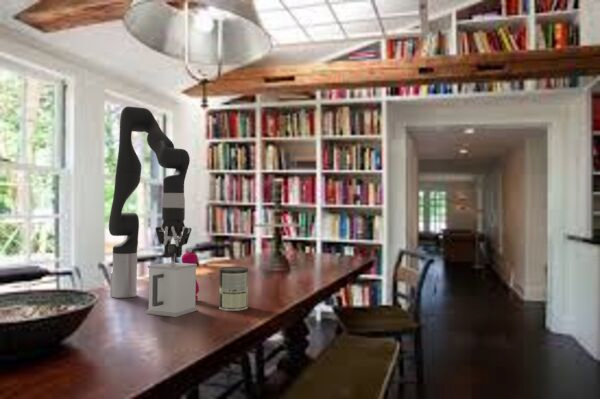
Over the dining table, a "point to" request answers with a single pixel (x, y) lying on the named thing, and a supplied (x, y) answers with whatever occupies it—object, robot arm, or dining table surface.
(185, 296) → the white cabinet
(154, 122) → the robot arm
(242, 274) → the coffee can
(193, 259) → the pepper mill
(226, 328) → the dining table surface
